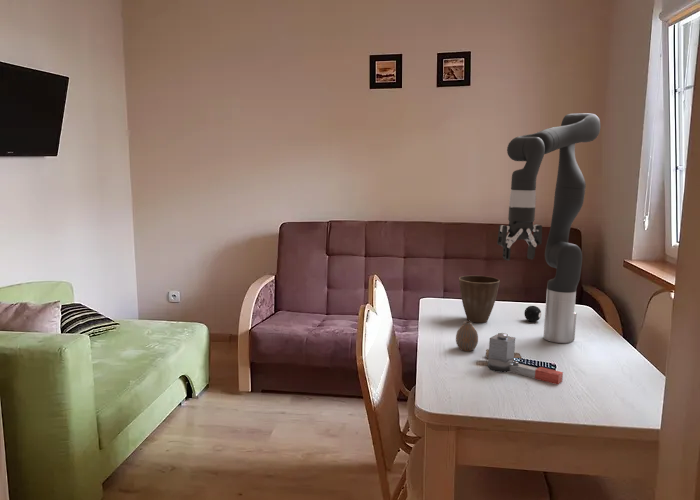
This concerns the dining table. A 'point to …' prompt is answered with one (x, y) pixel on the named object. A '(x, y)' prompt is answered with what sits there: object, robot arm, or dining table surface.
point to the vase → (467, 337)
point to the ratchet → (526, 370)
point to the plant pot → (478, 296)
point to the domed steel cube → (501, 347)
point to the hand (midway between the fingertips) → (518, 259)
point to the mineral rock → (516, 355)
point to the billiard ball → (532, 313)
